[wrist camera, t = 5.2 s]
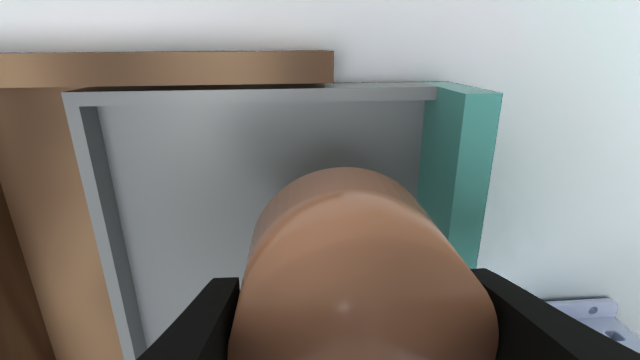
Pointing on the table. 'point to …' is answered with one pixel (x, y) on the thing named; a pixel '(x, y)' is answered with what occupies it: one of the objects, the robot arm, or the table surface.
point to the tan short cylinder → (357, 278)
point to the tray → (257, 173)
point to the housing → (67, 189)
